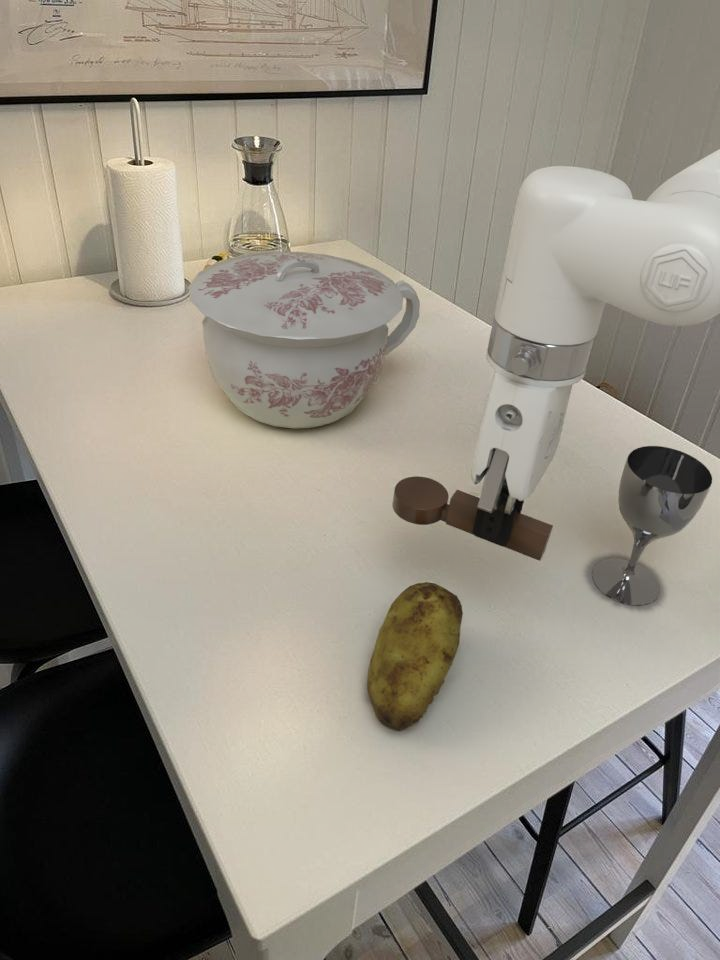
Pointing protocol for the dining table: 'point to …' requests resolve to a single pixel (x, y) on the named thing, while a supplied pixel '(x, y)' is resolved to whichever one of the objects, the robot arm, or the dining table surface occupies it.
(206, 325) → the chamber pot
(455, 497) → the wooden spoon
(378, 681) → the potato
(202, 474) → the dining table surface
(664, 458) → the wine glass
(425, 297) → the dining table surface
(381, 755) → the dining table surface
